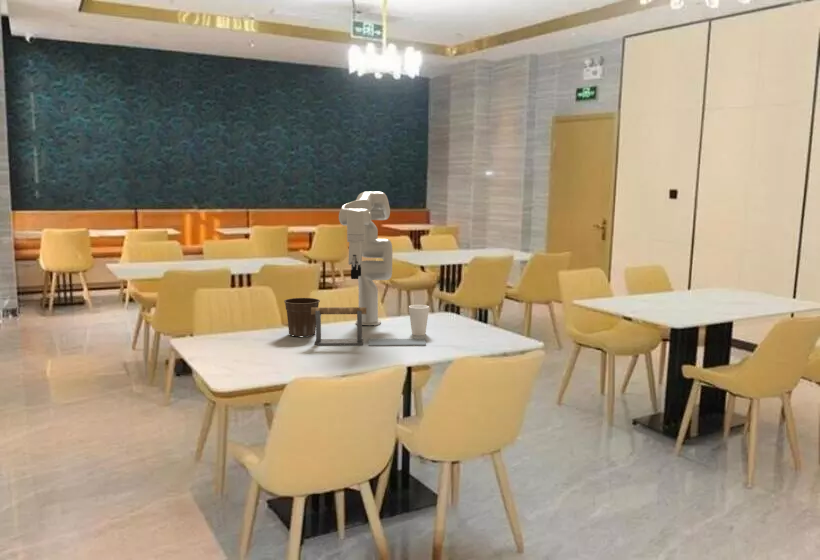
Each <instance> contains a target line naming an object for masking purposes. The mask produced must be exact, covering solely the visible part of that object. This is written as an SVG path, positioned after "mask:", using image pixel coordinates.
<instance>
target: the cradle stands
mask: <svg viewBox="0 0 820 560" xmlns="http://www.w3.org/2000/svg"><path fill="white" fill-rule="evenodd" d="M315 318H316V331H315V340H314V345H317V346H364V338H363V326H362V311H357V314H356V321H357V324H356V327H357V328H356V330H357V331H356V334H357V335H356V336H357V338H322V314H320V311H315Z"/></svg>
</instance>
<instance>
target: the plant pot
mask: <svg viewBox="0 0 820 560" xmlns="http://www.w3.org/2000/svg"><path fill="white" fill-rule="evenodd" d="M320 301H321V300H320V299H318V298H312V297H295V298H294V297H293V298H287V299H284V305H285V311H286V316H287V317H286V318H287V327H288V335H289V334H291V335H294V336H293V337H297V336H308V337H312V336H314V335H313V334H315V335H316V318H315V314H311V308H319V303H320ZM311 335H312V336H311Z"/></svg>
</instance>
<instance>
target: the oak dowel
mask: <svg viewBox="0 0 820 560" xmlns="http://www.w3.org/2000/svg"><path fill="white" fill-rule="evenodd" d="M315 311H320V314H321V315H357V311H362V314H366V307H359V306H358V307H357V306H356V307H355V306H353V307H346V306H345V307H344V306H343V307H341V306H340V307H331V306H330V307H329V306H327V307H318V308H311V314H315Z"/></svg>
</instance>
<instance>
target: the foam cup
mask: <svg viewBox="0 0 820 560" xmlns="http://www.w3.org/2000/svg"><path fill="white" fill-rule="evenodd" d="M408 313H409V320H410V327H411V334H412V336H425V335H426V333H427V326H428V320H429V313H430V306H429V305H425V304H413V305H412V304H411V305H408Z"/></svg>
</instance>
